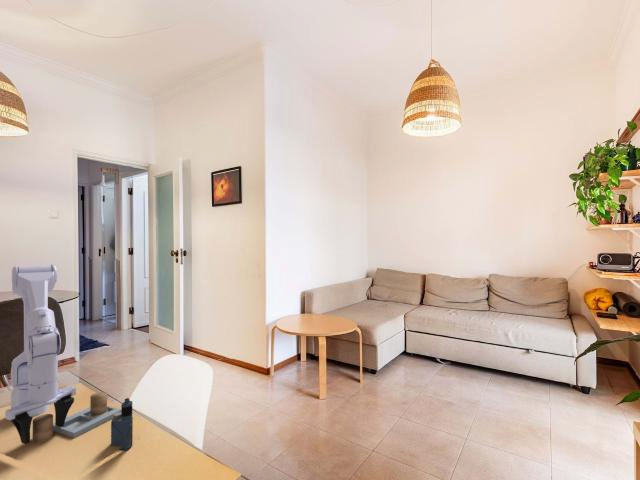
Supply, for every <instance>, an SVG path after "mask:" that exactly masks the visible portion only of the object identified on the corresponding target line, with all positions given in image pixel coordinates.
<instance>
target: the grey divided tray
mask: <svg viewBox="0 0 640 480" xmlns="http://www.w3.org/2000/svg"><path fill="white" fill-rule="evenodd" d="M107 410H108V412H107V413H105V414H103V415H101V416H99V417H97V418H93V417H90V406H89V407H87V408H85V409H82V410H81V411H80V410H79V412H76V413H74V414H72V415H68V416H66V419H65V422H64V426H63V427H60V426H57V425H56V424H55V422H53V432H56V433H59V434H62V435H64V436H67V437H70V438H72V439H73V438H74V439H75V438H78V437H79V436H82V434H85V433H87V432H89V431H91V430H92V429H95V428H97V427H98V426H101V425H102V424H105V423H106V422H108V421H110V420H111V421H112V418H113V414H114V413H117V412H121V408H118V407H116V406H115V407H114V406H110V405H108V404H107Z"/></svg>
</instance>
